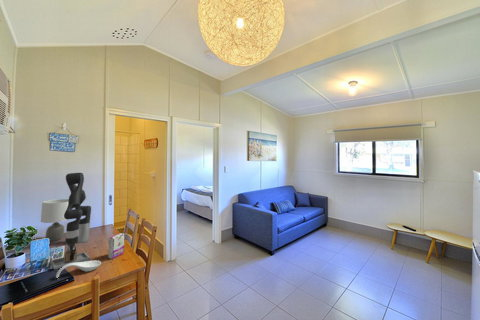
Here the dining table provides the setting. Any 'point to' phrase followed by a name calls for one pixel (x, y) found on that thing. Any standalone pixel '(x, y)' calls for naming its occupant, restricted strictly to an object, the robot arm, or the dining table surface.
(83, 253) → the tray
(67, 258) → the cube
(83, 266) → the spoon rest
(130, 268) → the dining table surface
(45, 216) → the lamp
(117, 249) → the candy bar box
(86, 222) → the robot arm
